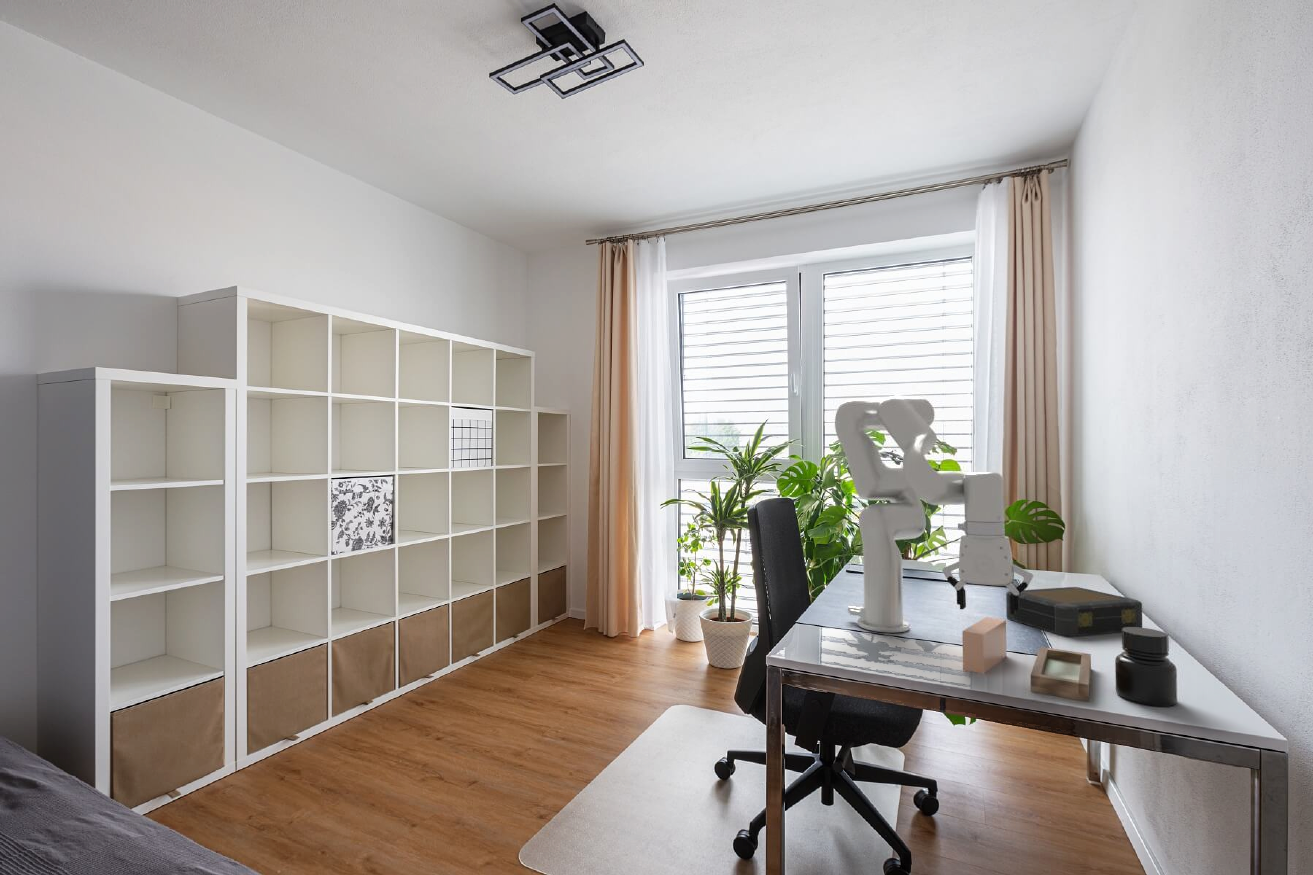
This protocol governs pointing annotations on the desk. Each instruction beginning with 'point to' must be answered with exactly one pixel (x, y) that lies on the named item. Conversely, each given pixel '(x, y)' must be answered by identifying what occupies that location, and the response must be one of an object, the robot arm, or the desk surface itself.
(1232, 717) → the desk surface
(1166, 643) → the ink bottle
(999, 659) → the pink rectangular block
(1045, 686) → the tray
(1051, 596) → the cash box
